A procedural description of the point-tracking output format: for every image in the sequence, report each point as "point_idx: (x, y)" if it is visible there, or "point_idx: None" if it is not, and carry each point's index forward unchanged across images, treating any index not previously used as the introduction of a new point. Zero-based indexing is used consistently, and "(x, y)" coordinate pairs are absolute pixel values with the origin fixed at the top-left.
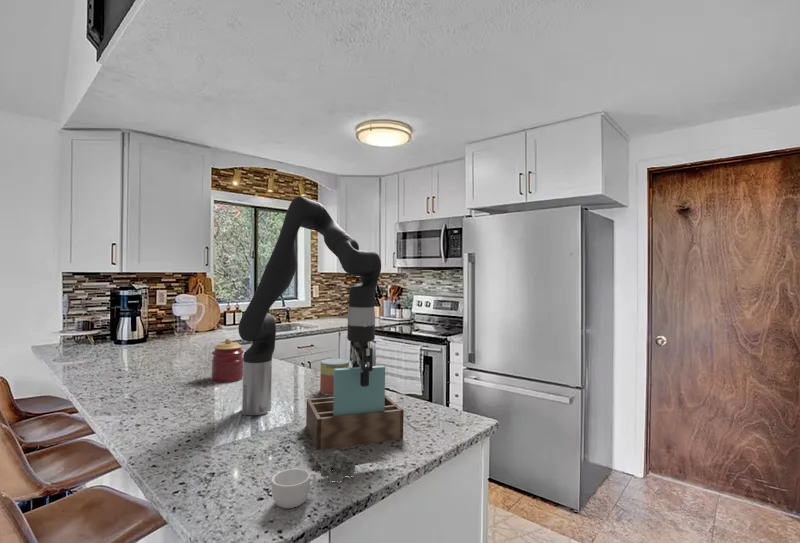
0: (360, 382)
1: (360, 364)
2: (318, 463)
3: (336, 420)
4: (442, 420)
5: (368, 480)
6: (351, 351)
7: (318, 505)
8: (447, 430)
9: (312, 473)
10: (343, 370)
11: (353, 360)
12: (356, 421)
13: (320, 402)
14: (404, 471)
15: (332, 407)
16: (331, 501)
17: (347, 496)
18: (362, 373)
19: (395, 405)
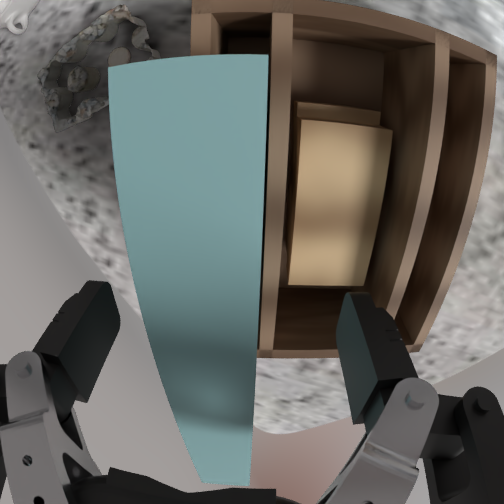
0: (89, 293)
1: (16, 415)
2: (87, 28)
3: None
4: (321, 391)
5: (53, 147)
6: (485, 498)
7: (5, 48)
8: (265, 382)
9: (8, 27)
10: (129, 213)
11: (365, 444)
12: None
13: (444, 83)
14: (79, 233)
15: (416, 132)
16: (8, 69)
17: (14, 99)
18: (46, 355)
19: (266, 351)
